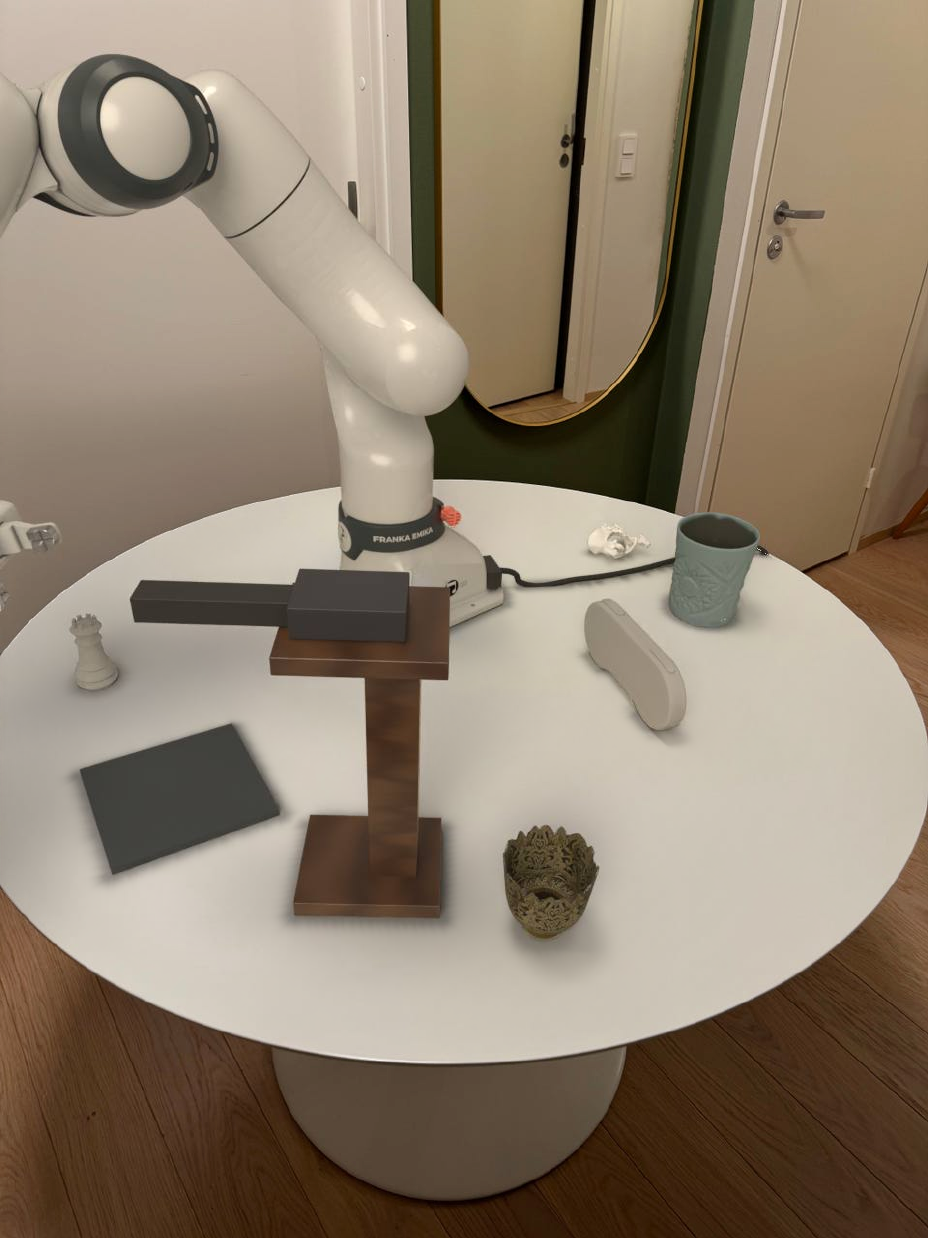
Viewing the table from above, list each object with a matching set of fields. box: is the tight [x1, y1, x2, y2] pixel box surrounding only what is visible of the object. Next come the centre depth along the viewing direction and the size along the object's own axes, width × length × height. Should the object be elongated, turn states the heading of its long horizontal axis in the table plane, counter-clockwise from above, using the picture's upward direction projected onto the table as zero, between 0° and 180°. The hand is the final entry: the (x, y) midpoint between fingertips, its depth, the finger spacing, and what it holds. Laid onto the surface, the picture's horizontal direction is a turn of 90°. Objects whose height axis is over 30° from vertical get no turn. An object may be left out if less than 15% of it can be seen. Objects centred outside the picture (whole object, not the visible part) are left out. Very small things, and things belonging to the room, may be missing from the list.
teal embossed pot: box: [667, 511, 761, 628], centre depth 112 cm, size 10×10×12 cm
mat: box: [79, 722, 280, 875], centre depth 83 cm, size 15×14×1 cm
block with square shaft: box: [129, 568, 410, 642], centre depth 61 cm, size 19×6×2 cm, turn 90°
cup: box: [502, 824, 600, 941], centre depth 70 cm, size 8×7×8 cm
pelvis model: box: [586, 522, 651, 560], centre depth 127 cm, size 8×4×7 cm
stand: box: [268, 582, 451, 919], centre depth 69 cm, size 12×10×26 cm
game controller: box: [583, 598, 687, 731], centre depth 98 cm, size 20×2×8 cm, turn 20°
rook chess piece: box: [68, 613, 119, 691], centre depth 95 cm, size 4×4×8 cm
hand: (31, 563), depth 62 cm, fingers open, 8 cm apart
